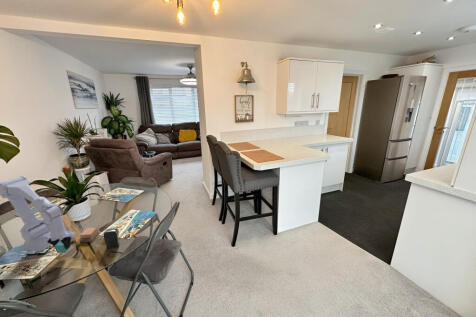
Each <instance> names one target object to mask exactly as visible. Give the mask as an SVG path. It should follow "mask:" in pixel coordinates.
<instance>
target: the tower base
mask: <svg viewBox="0 0 476 317" xmlns="http://www.w3.org/2000/svg"><path fill="white" fill-rule="evenodd" d="M98 235H100V231H98V230H97V232H96V233H95V234H94V235H93V237H92V238H81V237H80V238H79V239H78V240H79V243H88V242H89V243H90V242H91V243H92V242H94V240H95V239H96V238H97V236H98Z"/></svg>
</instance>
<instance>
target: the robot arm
mask: <svg viewBox="0 0 476 317" xmlns="http://www.w3.org/2000/svg"><path fill="white" fill-rule="evenodd" d="M29 184H30V180H29V178H27V177H26V176H24V175H21V176H17V177H15V178H12V179H8V180H4V181H0V197H1V198H2V199H8V201H9V203H10V204H11V205H12V207H13V208H14V210H15V212H16V213H17V215H18V216H19V218H20V219H21V220H22V222H23V224H24V225H23V226H22V227H21V228H20V230H19V232H20V234H21V238H22V239H23V240H24V242H23V245H24V248H25V251H26V252H31V251H35V252H37V251H40V250H43V249H45V248H47V247H49V246H50V245H53V248H55V245H56V244H57V243H58V242H59V241H60V239H61V241H60V242H62V243H63V244H64V247H65V249H68V248H69V247H70V246H71V240H72V239H74V238H75V236H77V234H76V232H74V231H70V230H69V231H68V230H66V227H65V224H64V220H63V216H62V215H63V214H64V210H63V208H62V207H61V206H60V205H59V204H56V203H52V202H51V201H50V200H48V199H47V198H46V197H45V196H39V194H37V192H36V191H34V189H33V188H31V184H30V185H29ZM26 200H28V201H29V202H31V203H30V205H29V204H28V202H27V201H26ZM30 206H31V207H30ZM32 207H33V209H35V210H36V212H38V213H40V217H41V218H42V219H41V218H40V219H39V218H38V217H37V216H36V214H34V211H33V209H32ZM70 248H71V247H70ZM70 248H69V249H70ZM69 249H68V250H69Z"/></svg>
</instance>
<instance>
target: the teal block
mask: <svg viewBox="0 0 476 317" xmlns="http://www.w3.org/2000/svg"><path fill="white" fill-rule="evenodd" d="M61 240H62V239H61ZM61 240H60V241H61ZM60 241H59V242H58V243H57V244H56V245H55V247H54V249H55V252H56V254H65V253H67V252H68V250H69V249H70V248H71V245H70V247H69V248H68V249H65V247H64V244H63V243H62V242H60Z"/></svg>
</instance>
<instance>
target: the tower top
mask: <svg viewBox="0 0 476 317" xmlns="http://www.w3.org/2000/svg"><path fill="white" fill-rule="evenodd" d="M97 231H98V228H97V227H86V228H85V229H84V230H83V231H82V232H81V233H80V234H79V237H80V238H92V237H93V235H94V234H95V233H96V232H97Z"/></svg>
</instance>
